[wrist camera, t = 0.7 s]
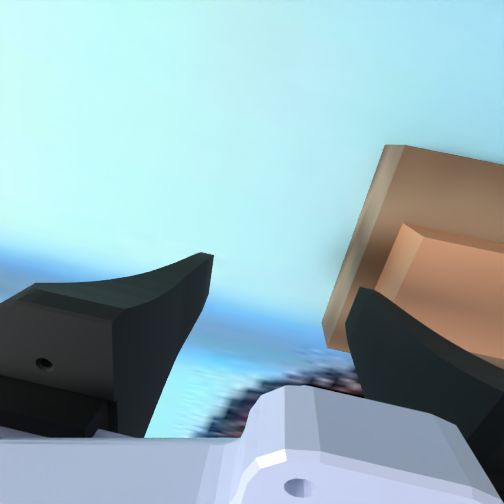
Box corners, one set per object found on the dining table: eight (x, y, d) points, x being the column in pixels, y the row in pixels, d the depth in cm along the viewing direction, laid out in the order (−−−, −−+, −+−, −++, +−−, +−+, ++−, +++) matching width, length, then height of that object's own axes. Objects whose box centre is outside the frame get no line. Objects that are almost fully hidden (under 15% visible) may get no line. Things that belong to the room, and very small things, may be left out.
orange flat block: (501, 336, 18) (534, 366, 15) (366, 307, 18) (378, 331, 16) (559, 255, 15) (607, 275, 13) (402, 223, 15) (423, 237, 13)
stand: (465, 354, 22) (491, 384, 19) (321, 322, 22) (327, 347, 19) (578, 183, 16) (638, 191, 14) (385, 144, 17) (405, 145, 14)
